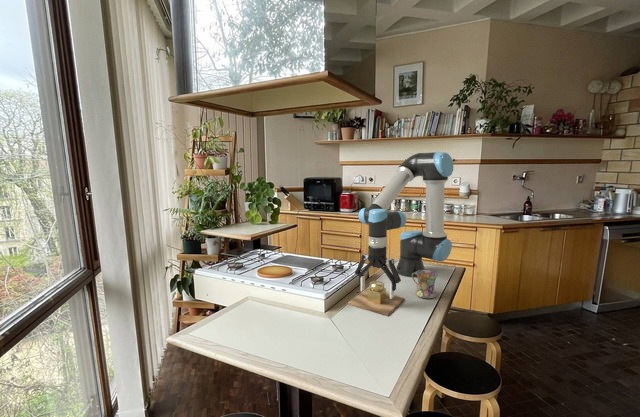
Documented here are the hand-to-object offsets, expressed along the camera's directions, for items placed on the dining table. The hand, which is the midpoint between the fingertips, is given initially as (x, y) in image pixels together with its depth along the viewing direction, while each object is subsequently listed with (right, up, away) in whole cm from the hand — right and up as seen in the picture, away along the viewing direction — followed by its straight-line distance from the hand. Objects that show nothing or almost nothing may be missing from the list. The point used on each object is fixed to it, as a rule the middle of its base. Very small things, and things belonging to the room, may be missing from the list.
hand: (376, 293), depth 132 cm
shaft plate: (0, -4, 0) cm, 4 cm away
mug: (+22, -3, +8) cm, 24 cm away
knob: (0, -3, 0) cm, 3 cm away
